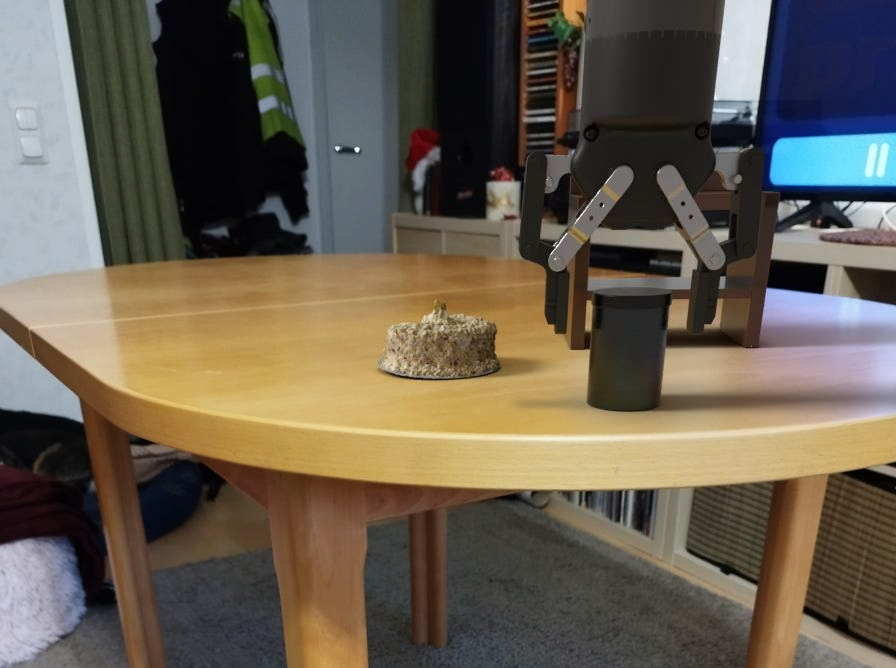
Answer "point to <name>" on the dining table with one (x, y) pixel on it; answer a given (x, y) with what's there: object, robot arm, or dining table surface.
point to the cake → (441, 346)
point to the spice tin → (627, 347)
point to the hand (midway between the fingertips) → (627, 332)
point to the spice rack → (737, 289)
